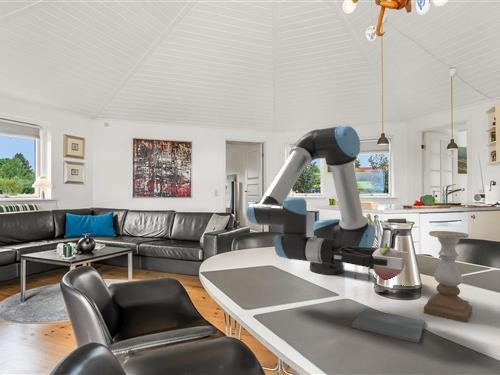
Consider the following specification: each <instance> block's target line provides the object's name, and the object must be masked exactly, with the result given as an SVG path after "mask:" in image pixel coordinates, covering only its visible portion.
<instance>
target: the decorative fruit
mask: <svg viewBox="0 0 500 375" xmlns="http://www.w3.org/2000/svg"><path fill="white" fill-rule="evenodd" d="M382 247H383V248H381V247H378V248H379V249H377V250H375V251H374V253H373V255H372V256H375V255H377V256H385V257H394V258H402V270H399V269H392V268H384V267H377V266H374V269H372V270H373V272H374V273H375V274H376V275H377V276H379V277H380V278H382V279H383V280H388V279H391V278H393V277H395V278H396V277H397V276H399V275H400V274H401V273H402V272H403V270H404V268H405V262H404V260H403V257H402V255H401V254H400V253H399V252H398V251H399V250H396V249H395V248H392V247H390V246H388V244H387V243H385V246H382Z"/></svg>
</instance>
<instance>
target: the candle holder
mask: <svg viewBox="0 0 500 375" xmlns="http://www.w3.org/2000/svg"><path fill="white" fill-rule="evenodd" d="M428 235H429V236H430V237H434V238H437V240H438V242H439V243H440V246H441V248H440V250H439V252H438V253H437V254H438V255H439V257H440V259H441V263H440V265H439V266H438V267H437V269H436V270H435V272H434V275H433V278H434V280H435V281H436V283H438V284H437V285H436V287H435V288H436V291H437V292H438V293H436V294H432V296H431V297H430V298H429V299H428V300H427V302H426V304H424V306H423V313H424V314H427V315H430V316H436V317H439V318H442V319H447V320H448V319H449V320H451V321H457V322H460V323H466V324H467V323H468V322H469V320H470V318H471V316H472V313H473V307H472V305H470V304H469V300H465V299H462V298H461V297H460V294H461V290H460V288H459V285H461V284H462V283H463V279H464V278H463V276H462V274H461V272H460V271H459V269H458V267H457V266H456V260H457V258H458V257H459V254H458V252H457V250H456V245H457V244H458V243H459V242H460V240H461V239H462V240H464V239H468V238H469V236H470V235H469V234H468V233H465V232H460V231H459V232H458V231H449V230H446V231H445V230H432V231H429V232H428ZM458 295H459V296H458Z"/></svg>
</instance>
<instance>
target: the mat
mask: <svg viewBox="0 0 500 375" xmlns="http://www.w3.org/2000/svg"><path fill="white" fill-rule="evenodd" d="M359 313H360V314H358V316H357V317H356V318H355V319H354V320H353V322H352V323H351V328H354V329H359V330H363V331H366V332H370V333H375V334H379V335H384V336H387V337H392V338H396V339H401V340H405V341H408V342H414V343H417V344H419V343H420V342H421V341H420V340H421V337H422V334H423V331H424V328H425V323H426V321H425V320H424V319H420V318H415V317H410V316H405V315H400V314H396V313H389V312H386V311H385V312H384V311H380V310H375V309H371V308H364V309H363V310H362V311H361V312H359Z"/></svg>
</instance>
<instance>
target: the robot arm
mask: <svg viewBox="0 0 500 375" xmlns="http://www.w3.org/2000/svg"><path fill="white" fill-rule="evenodd" d="M360 151H361V141H360V137H359V134H358V132H357V131H356V129H355V128H353V127H352V126H349V125H346V126H345V125H344V126H334V127H333V126H332V127H327V128H321V129H314V130H310V131H309V132H307V133H305V134H304V135H302V137H300V138H299V139H298V140H297V141H296V142H295V143H294V144H293V146H292V147H291V149H290V150H289V153H288V154H289V156H288V157H287V159H286V161H285V162H284V164H283V165H282V167H281V168H280V170H279V171H278V173H277V174H276V175H275V177H274V179H273V180H272V181H271V183H270V185H269V186H268V187H267V189H266V191H265V192H264V194H263V195H261V198H260V199H259V201H258V202H257V201H256V202H251V203H250V204H249V205H248V206H247V208H246V212H245V213H246V214H245V215H246V219H247V220H248V222H249V223H251V224H254V225H258V226H259V225H260V226H272V227H281V228H282V234H279V235H278V236H277V237H276V238H275V242H274V250H275V254H276V255H277V256H278V257H279V258H284V259H287V260H293V261H294V260H296V261H301V262H302V261H304V262H309V271H310V272H312V273H315V274H322V275H340V274H342V273H344V271H345V266H344V264H349V265H354V266H360V267H365V268H369V269H370V270H373V269H374V266H377V267H384V268H392V269H399V270H402V258H394V257H385V256H377V255H375V256H372V255H373V253H374V251H375V250H377V249H379V248H383V247H384V246H380V247H373V246H374V244H375V239H376V228H375V226H374V225H373V224H369V220H368V218H367V216H364V214H363V209H362V205H361V199H360V192H359V187H358V182H357V176H356V170H355V165H354V163H355V161H357V156H358V155H359V154H360ZM318 159H319V160H320V159H324V160H325V164H326V166H328V167H329V168H330V169H331V174H332V180H333V182H334V183H333V184H334V189H335V194H336V198H337V202H338V203H337V204H338V208H339V211H340V217H341V219H340V218H331V219H320V220H316V221H315V222H314V223H313V236H307V226H308V225H307V224H308V223H307V222H308V221H307V220H308V216H307V215H308V209H307V201H306V199H305V198H301V197H299V198H298V197H297V198H295V197H294V198H290V197H289V198H287V197H288V196H289V194H290V193H291V191H292V190H293V188H294V186H295V185H296V183H297V182H298V179H299V178H300V177H301V175H302V173H303V171H304V170H305V168H306V167H308V166H309V165H311V163H312V162H313V161H314V160H318ZM397 251H398V252H399V253H400V254H401V255H402V257H403V260H404V263H408V262H409V252H408V251H399V250H397ZM402 271H403V270H402Z"/></svg>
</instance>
